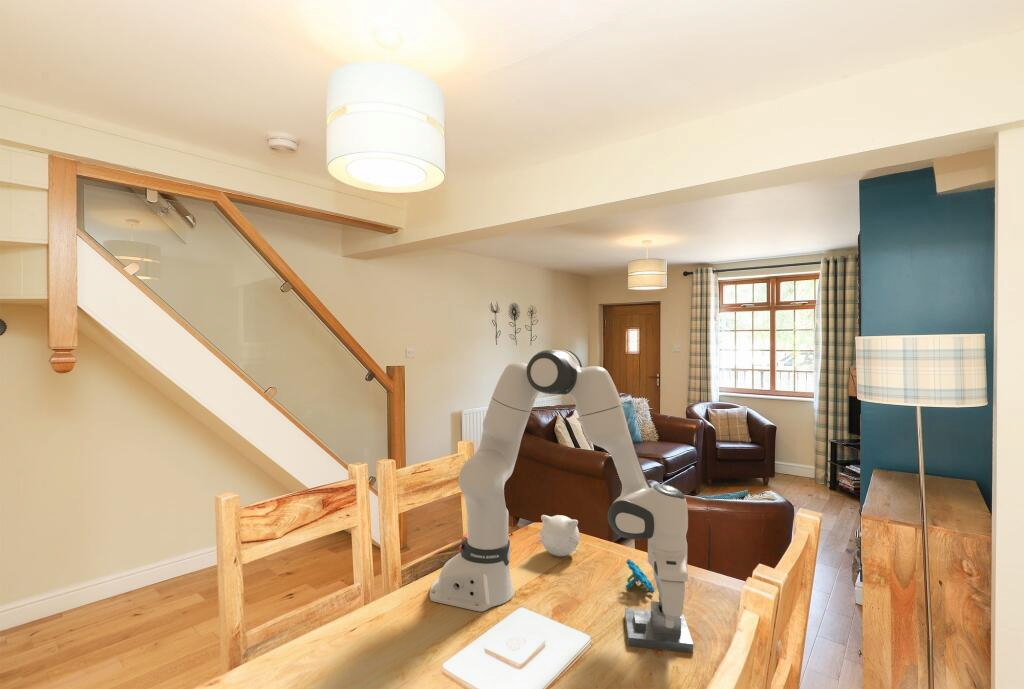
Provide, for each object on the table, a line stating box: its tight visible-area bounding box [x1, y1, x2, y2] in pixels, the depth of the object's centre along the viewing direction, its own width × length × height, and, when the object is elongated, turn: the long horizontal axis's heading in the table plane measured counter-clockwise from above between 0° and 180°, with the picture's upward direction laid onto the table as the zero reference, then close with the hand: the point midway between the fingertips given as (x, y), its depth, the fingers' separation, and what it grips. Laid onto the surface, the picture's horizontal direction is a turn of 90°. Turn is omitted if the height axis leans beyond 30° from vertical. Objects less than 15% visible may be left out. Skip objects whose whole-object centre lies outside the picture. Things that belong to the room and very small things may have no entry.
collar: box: [650, 600, 681, 635], centre depth 118 cm, size 6×6×4 cm
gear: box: [625, 558, 655, 593], centre depth 139 cm, size 11×6×10 cm
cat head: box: [533, 514, 580, 557], centre depth 159 cm, size 15×13×12 cm
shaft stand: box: [624, 607, 694, 654], centre depth 118 cm, size 14×12×6 cm
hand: (665, 614), depth 118 cm, fingers open, 8 cm apart
